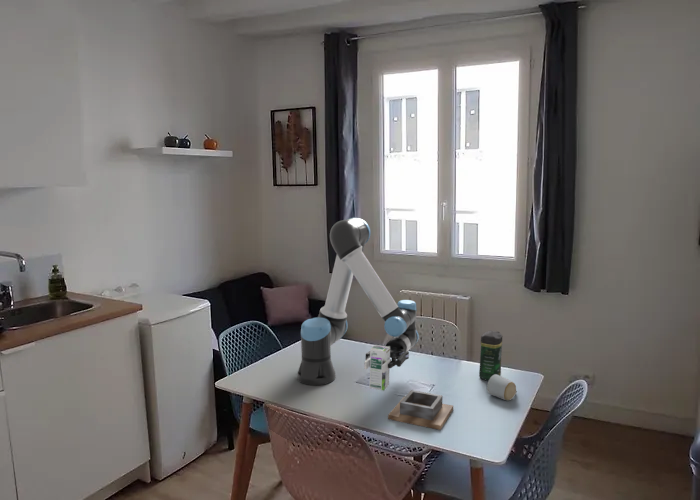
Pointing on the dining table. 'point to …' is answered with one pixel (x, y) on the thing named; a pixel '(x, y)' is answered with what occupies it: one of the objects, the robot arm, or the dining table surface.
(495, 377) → the ceramic mug
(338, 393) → the dining table surface
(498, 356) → the coffee jar
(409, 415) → the socket board
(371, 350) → the syrup box
